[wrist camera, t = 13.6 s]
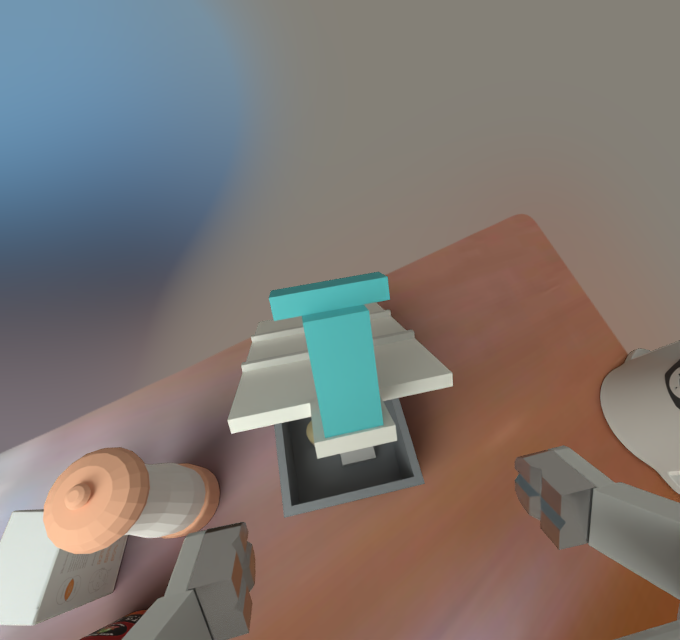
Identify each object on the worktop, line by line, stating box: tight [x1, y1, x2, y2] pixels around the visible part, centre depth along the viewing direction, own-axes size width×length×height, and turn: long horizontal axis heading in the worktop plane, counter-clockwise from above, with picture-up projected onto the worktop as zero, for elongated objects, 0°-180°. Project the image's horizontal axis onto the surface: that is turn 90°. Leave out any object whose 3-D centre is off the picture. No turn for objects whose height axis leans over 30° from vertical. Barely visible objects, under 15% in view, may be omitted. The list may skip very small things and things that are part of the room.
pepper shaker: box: [43, 447, 220, 554], centre depth 30 cm, size 7×7×19 cm
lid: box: [227, 272, 453, 459], centre depth 28 cm, size 15×25×9 cm
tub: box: [274, 398, 425, 518], centre depth 40 cm, size 14×20×8 cm
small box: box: [0, 509, 128, 626], centre depth 32 cm, size 8×6×10 cm
